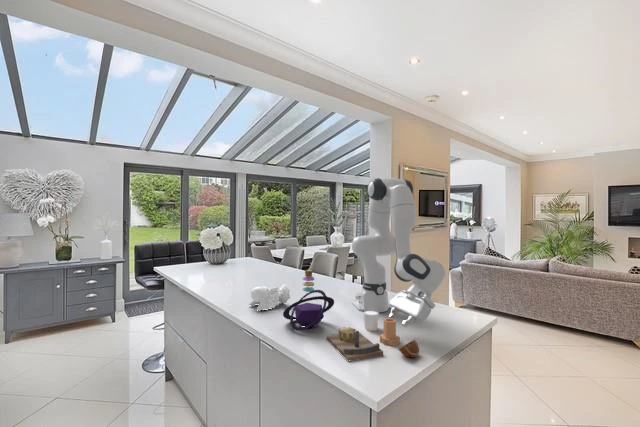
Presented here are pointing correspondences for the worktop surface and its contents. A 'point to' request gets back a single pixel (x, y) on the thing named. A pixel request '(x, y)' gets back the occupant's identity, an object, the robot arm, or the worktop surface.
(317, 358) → the worktop surface
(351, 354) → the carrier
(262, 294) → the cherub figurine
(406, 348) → the fruit slice
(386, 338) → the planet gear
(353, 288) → the worktop surface
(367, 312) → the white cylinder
